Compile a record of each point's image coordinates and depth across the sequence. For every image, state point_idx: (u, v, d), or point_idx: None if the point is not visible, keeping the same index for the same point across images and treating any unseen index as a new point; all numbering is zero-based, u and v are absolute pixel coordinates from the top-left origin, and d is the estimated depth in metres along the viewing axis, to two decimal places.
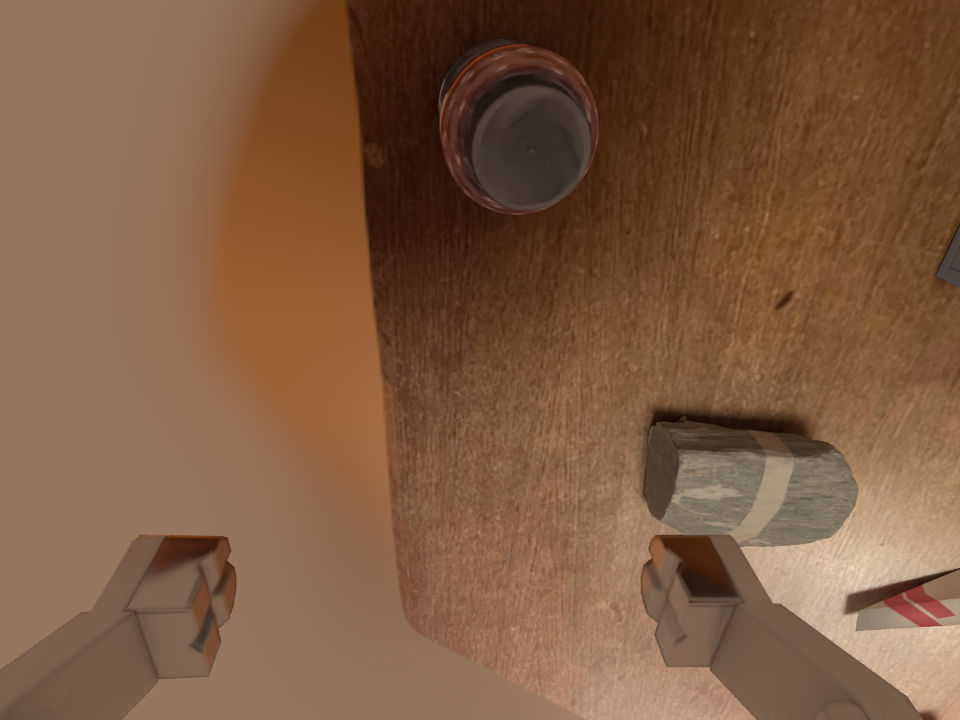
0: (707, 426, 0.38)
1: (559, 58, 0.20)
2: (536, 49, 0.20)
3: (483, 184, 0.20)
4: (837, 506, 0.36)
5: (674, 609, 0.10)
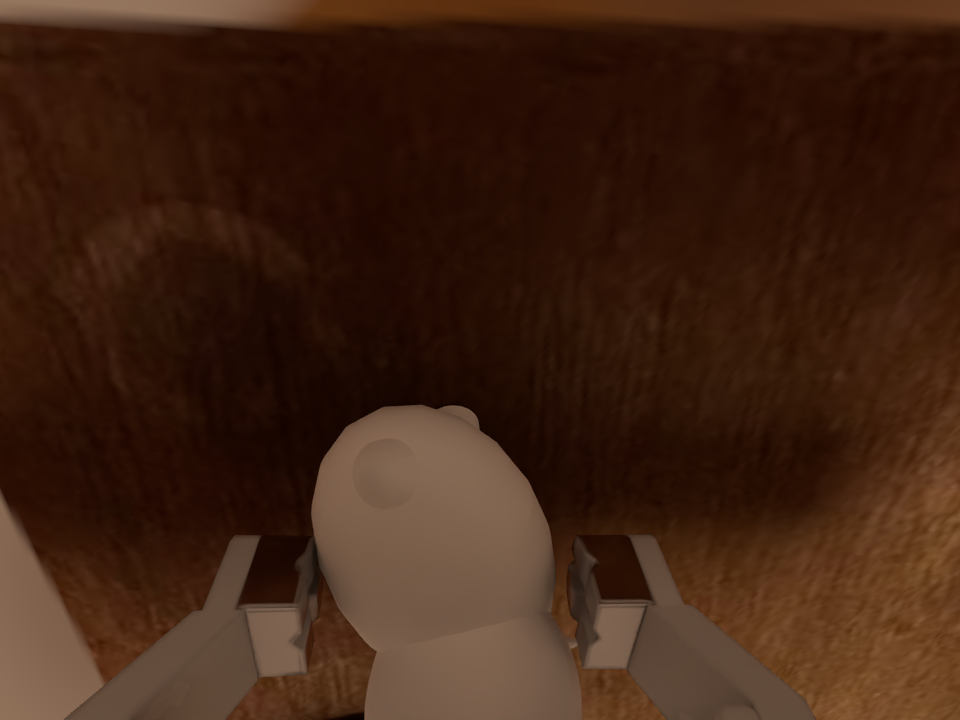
0: None
1: None
2: None
3: None
4: None
5: (589, 610, 0.10)
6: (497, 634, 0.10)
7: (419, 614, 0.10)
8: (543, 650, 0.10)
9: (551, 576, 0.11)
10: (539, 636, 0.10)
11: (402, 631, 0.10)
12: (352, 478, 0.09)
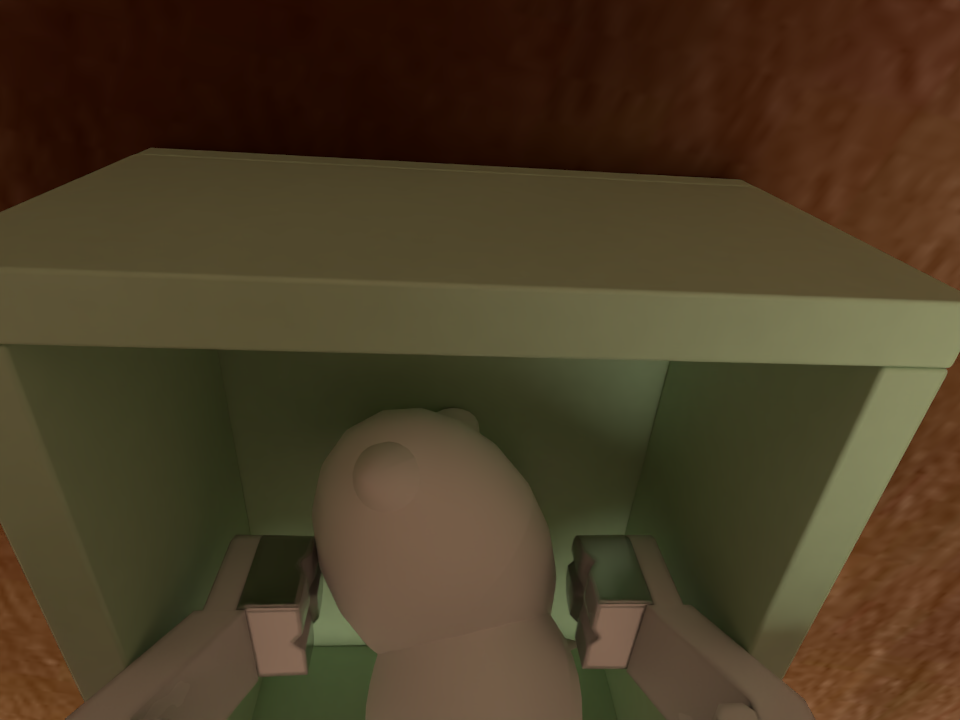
0: None
1: None
2: None
3: None
4: None
5: (588, 610, 0.10)
6: (497, 636, 0.10)
7: (419, 617, 0.10)
8: (543, 652, 0.10)
9: (551, 578, 0.11)
10: (539, 638, 0.10)
11: (403, 634, 0.10)
12: (352, 481, 0.09)
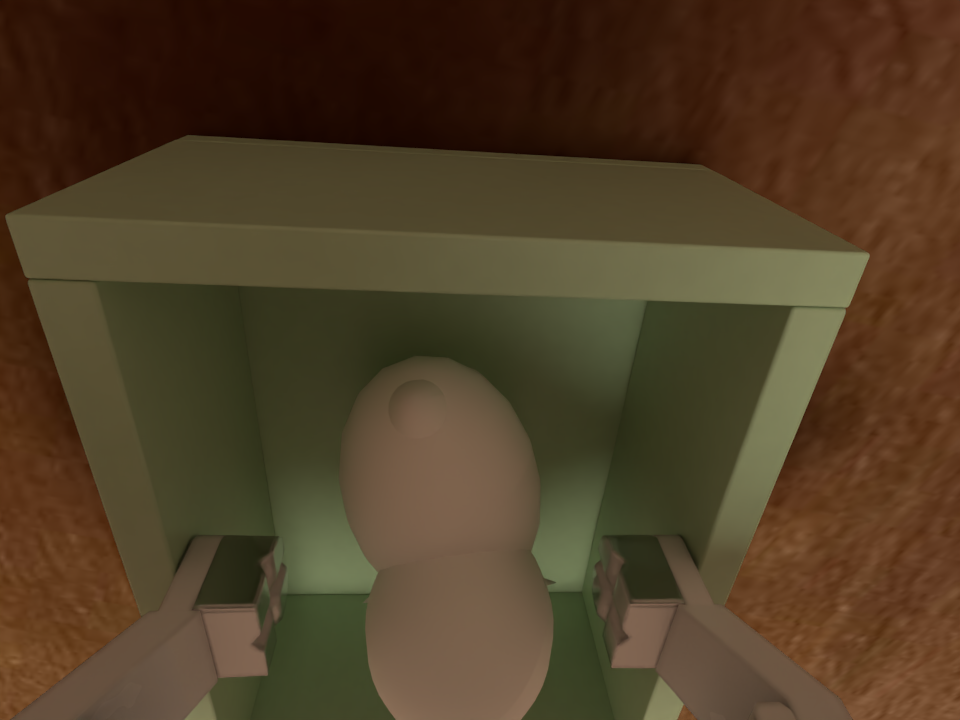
0: None
1: None
2: None
3: None
4: None
5: (618, 610, 0.10)
6: (490, 558, 0.12)
7: (428, 533, 0.11)
8: (527, 576, 0.12)
9: (537, 519, 0.13)
10: (524, 565, 0.12)
11: (410, 548, 0.12)
12: (388, 409, 0.11)
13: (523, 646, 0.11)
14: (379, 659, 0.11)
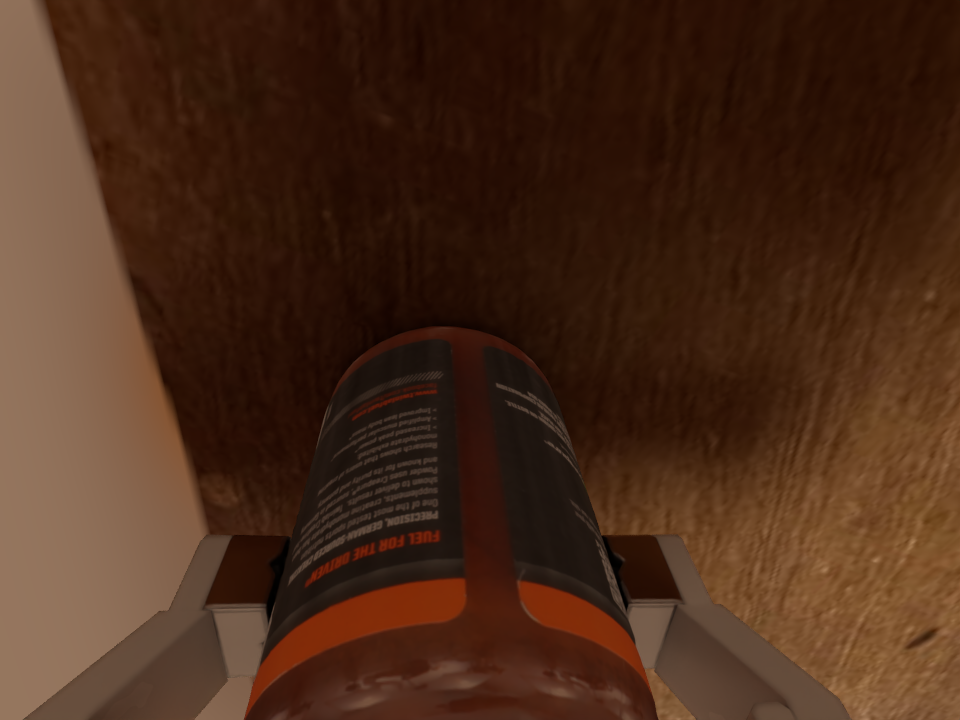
0: None
1: (556, 677, 0.07)
2: (486, 660, 0.07)
3: None
4: None
5: None
6: None
7: None
8: None
9: None
10: None
11: None
12: None
13: None
14: None
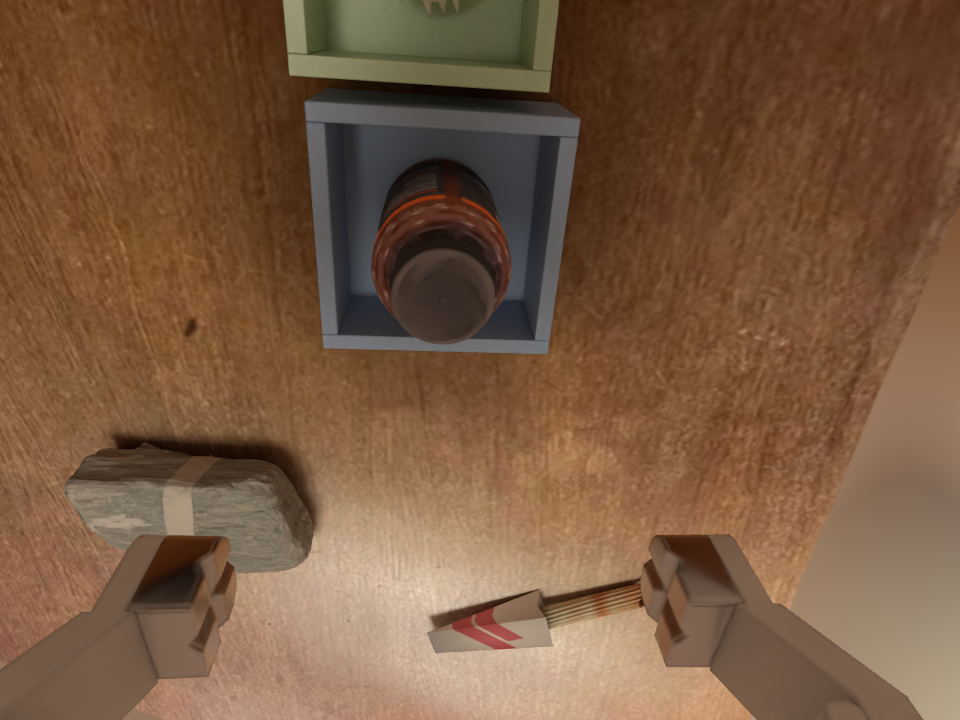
0: (150, 453, 0.37)
1: (471, 211, 0.23)
2: (450, 204, 0.23)
3: (402, 325, 0.22)
4: (254, 535, 0.35)
5: (674, 609, 0.10)
6: None
7: None
8: None
9: None
10: None
11: None
12: None
13: None
14: None
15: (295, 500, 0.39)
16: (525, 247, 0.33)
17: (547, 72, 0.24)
